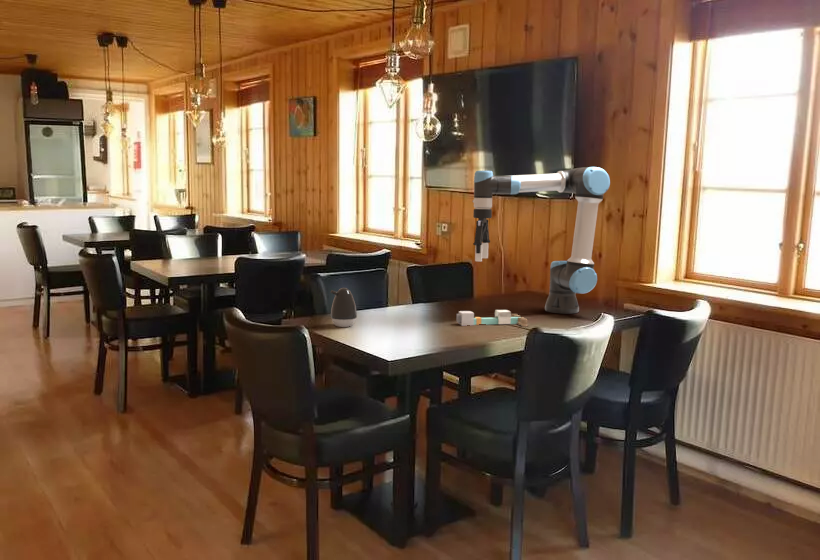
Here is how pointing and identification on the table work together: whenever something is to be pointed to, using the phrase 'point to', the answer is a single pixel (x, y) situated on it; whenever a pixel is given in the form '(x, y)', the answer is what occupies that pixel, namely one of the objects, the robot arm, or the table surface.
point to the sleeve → (503, 316)
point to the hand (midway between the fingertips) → (481, 259)
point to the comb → (520, 320)
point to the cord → (478, 319)
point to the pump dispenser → (343, 308)
